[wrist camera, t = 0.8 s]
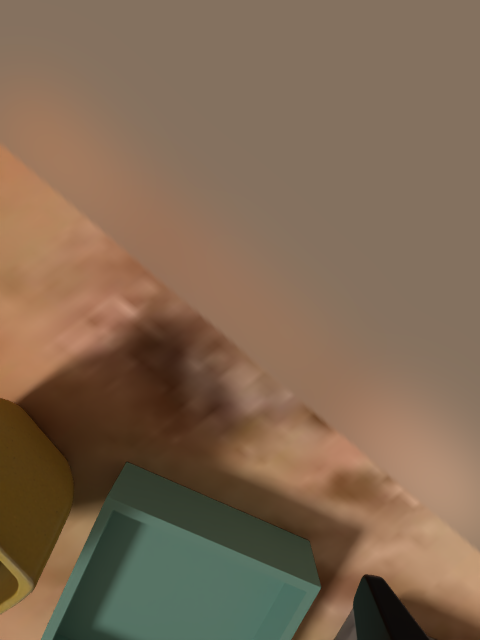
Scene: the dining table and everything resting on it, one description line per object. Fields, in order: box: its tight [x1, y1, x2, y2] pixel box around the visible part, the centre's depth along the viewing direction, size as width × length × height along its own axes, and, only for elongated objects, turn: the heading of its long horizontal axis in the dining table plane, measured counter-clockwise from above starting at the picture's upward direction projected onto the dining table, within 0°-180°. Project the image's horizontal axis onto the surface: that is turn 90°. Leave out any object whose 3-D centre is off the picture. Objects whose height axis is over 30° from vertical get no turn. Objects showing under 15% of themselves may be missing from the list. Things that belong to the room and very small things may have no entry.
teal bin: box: [41, 462, 321, 640], centre depth 23 cm, size 13×13×4 cm
